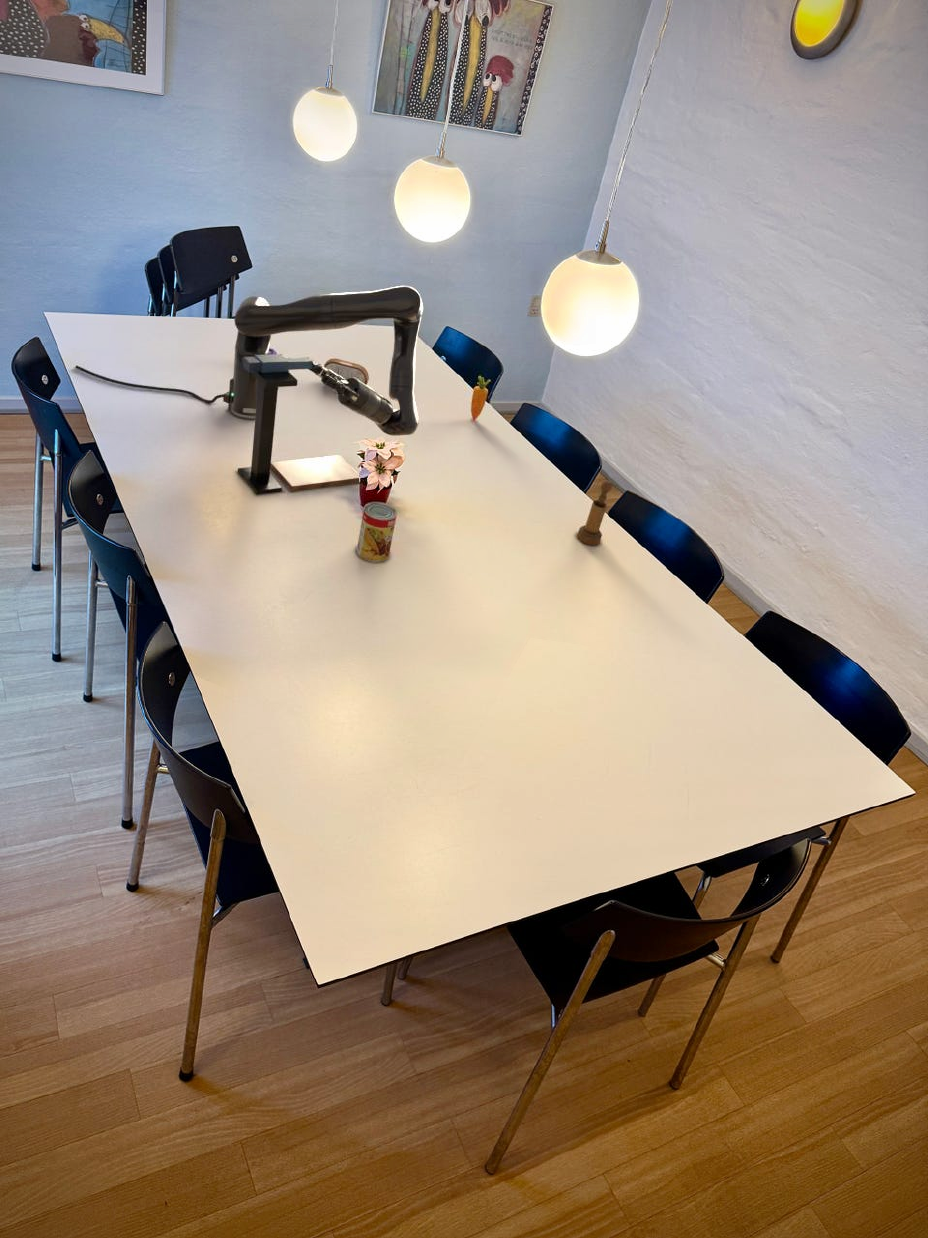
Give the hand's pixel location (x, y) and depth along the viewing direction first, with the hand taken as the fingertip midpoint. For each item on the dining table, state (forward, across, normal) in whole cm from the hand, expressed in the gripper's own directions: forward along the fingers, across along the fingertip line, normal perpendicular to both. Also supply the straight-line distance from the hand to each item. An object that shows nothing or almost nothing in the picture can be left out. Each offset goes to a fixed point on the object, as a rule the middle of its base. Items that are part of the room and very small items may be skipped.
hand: (315, 370), depth 220 cm
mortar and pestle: (-69, +49, -5) cm, 85 cm away
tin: (-50, -52, +6) cm, 72 cm away
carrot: (-79, -22, -11) cm, 83 cm away
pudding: (-34, -70, +15) cm, 79 cm away
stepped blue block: (+9, 0, +4) cm, 9 cm away
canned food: (-15, +38, +26) cm, 48 cm away
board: (-18, 0, +24) cm, 30 cm away
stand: (-4, 0, +32) cm, 32 cm away
